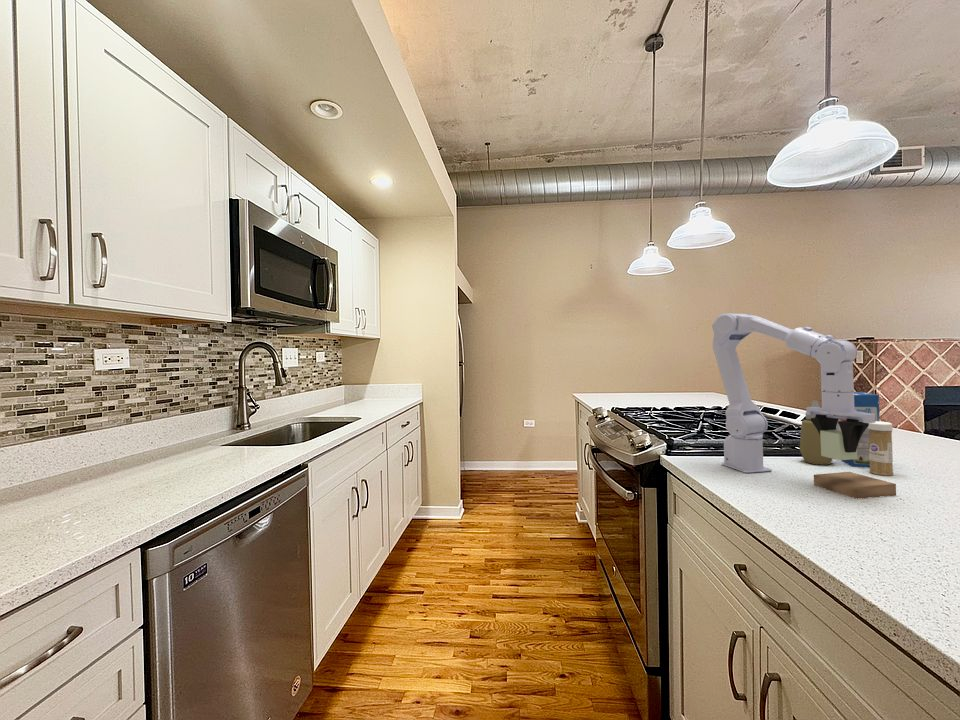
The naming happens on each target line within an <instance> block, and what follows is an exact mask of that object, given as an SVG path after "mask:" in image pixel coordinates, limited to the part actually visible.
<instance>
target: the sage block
mask: <svg viewBox="0 0 960 720" xmlns="http://www.w3.org/2000/svg"><path fill="white" fill-rule="evenodd" d="M820 437H821V456H824V457H828V458H832V460H837V461H841V460H851V459H857V449H856V452H850V453H848V452H845V449H844V442H843V435H842V431H841V430H823V431H820Z"/></svg>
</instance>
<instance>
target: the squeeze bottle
mask: <svg viewBox="0 0 960 720" xmlns="http://www.w3.org/2000/svg"><path fill="white" fill-rule="evenodd" d="M810 407H820V404H819V401H818V400H812V402H811V406H810ZM820 408H821V407H820ZM815 417H816V415H806V414H805V419H804V420H801V426H800V437H799V438H800V439H799V453H800V454H801V456H802V459H803V461H804V462H806V463H809V464H812V465H818V464H820V465H821V466H827V465H830V464H831V463H832V461H833V458H828V457H824V456H821V437H820V435H819V432H818V430H817V429H816V427H815V426H814V424H813V423H812V422H811V418H815ZM820 465H819V466H820Z"/></svg>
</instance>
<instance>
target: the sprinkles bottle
mask: <svg viewBox="0 0 960 720" xmlns="http://www.w3.org/2000/svg"><path fill="white" fill-rule="evenodd" d="M868 429H869V459H870V468H869V473H871V474H874V475H876V476H877V475H878V476H886V477H889V476H893V475H894V470H893V467H894V466H893V462H894V460H893V459H894V458H893V457H894V456H893V454H894V452H893V439H892V438H893V437H892V435H893V434H892V433H893V429H894V428H893V423H892V422H888V421H881V420H880V421H875V423H869V426H868Z"/></svg>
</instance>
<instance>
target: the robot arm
mask: <svg viewBox="0 0 960 720" xmlns="http://www.w3.org/2000/svg"><path fill="white" fill-rule="evenodd" d="M711 328H712V332H713V338H712V339H713V340H712V350H713V352H714V356H715V360H716V363H717V367H718V369H719V374H720V377H721V380H722V383H723V387H724V390H725V393H726V394H725V395H726V397H727V401H728V404H729V406H727V408H726V410H725V412H724V413H725V418H726V420H725V428H726V430H727V432H728V433H729V435H728V436H726V437H725V438H724V442H723V455H724V456H723V457H724V458H723V460H724V461H723V462H721V465H723V466H725V467H728V468H731V469H734V470H736V471H739V472H742V473H745V474H747V473H763V472H764V473H765V472H772V471H773V470H772V468H769V467H766V466H764V447H763V445H764V444H763V442H764V441H763V438H764V433H765V432H766V431H767V429H768V424H769V423H768V420H767V418H766V417H765V415H763V413H762V412H761V409H760V407H759V406H758V405H757V404H756V403H755V402H753V401H752V397H751V395H750V392H749V391H750V390H749V388H748V384H747V382H746V377H745V375H744V372H743V369H742V365H741V362H740V359H739V356H738V353H737V349H736V348H737V346H739V344H740V343H741V342H742V341H743V340H745V339H746V338H747V337H748V336H749V335H750V334H752V333H760V334H762V335H766V336H769V337H772V338H775V339H778V340H780V341H784V343H785V344H786V346H787V348H788V349H790V350H794V351H795V352H798V353H801V354H802V355H806V356H809V357H811V358H813V359H815V360H816V361H817V362H818V363H819V365H820V387H821V407H811V406H806V407H805V416H806V415H816V417H815V418H811V422H812V423H813V424H814V426H815V427H816V429H817V430H818V432H819V435H820V431H823V430H836V425H837V422H838V424H839V426H840V428H841V431H842V435H843V442H844V449H845V452H848V453H850V452H856V449H857V446H858V443H859V440H860V438H861V436H862V434H863V432H864V431H865V430H866V428H867V427H868V426H869V423H875V414H871V413H865V412H860V411H855V410H854V392H855V385H854V368H853V367H854V364H853V361H854V360H855V359H856V358H857V357H858V348H857V346H856V345H855V344H854V343H852V342H851V341H849V340H848V339H844V338H843V339H837V340H835V339H834V337H835V336H833V335H831V334H826V335H825V334H822V333H819V332H816V331H813V327H810V326H804V327H801V326H800V327H796V328H794V329H792V328H790V327H787V326H784V325H782V324H779V323H776V322H775V321H771V320H768V319H766V318H763V317H761V316H758V315H754V314H753V315H752V314H750V313H745V312H744V313H729V312H723V313H721V314H719V315H718V316H717V317H716V318H715V320H714V322H713V323H712V325H711ZM836 415H839V416H836ZM841 416H844V417H841ZM849 417H850V418H849ZM839 419H845V420H846V421H838V420H839Z"/></svg>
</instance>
